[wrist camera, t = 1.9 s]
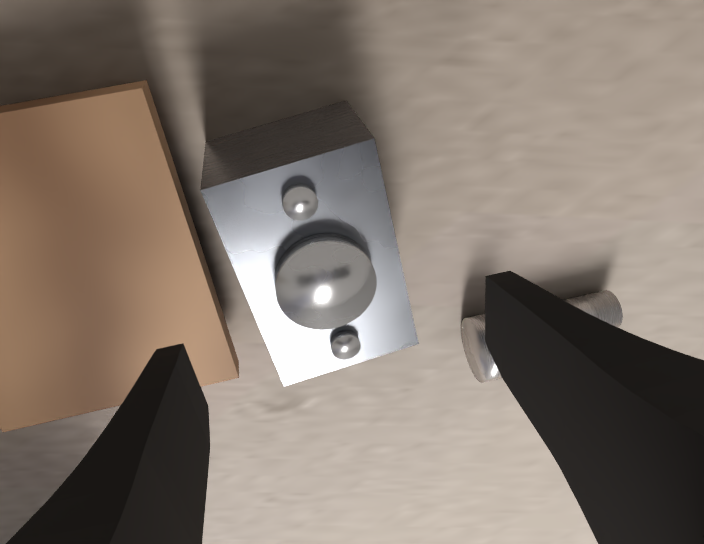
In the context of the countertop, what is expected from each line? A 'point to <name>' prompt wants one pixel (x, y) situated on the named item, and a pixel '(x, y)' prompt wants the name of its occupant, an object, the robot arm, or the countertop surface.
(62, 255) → the stand
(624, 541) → the robot arm
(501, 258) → the countertop surface
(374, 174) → the housing
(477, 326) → the bolt
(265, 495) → the countertop surface
